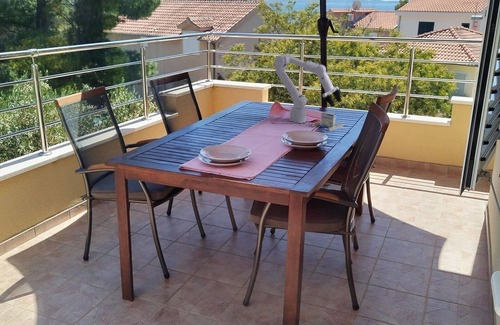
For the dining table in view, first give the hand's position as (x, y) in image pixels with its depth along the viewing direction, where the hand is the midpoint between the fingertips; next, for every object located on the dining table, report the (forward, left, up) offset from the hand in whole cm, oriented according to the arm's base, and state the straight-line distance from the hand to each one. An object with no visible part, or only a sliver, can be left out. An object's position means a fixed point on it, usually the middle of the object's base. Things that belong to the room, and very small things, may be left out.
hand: (336, 103), depth 300 cm
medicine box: (-2, -5, -14) cm, 15 cm away
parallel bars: (-2, -5, -14) cm, 15 cm away
